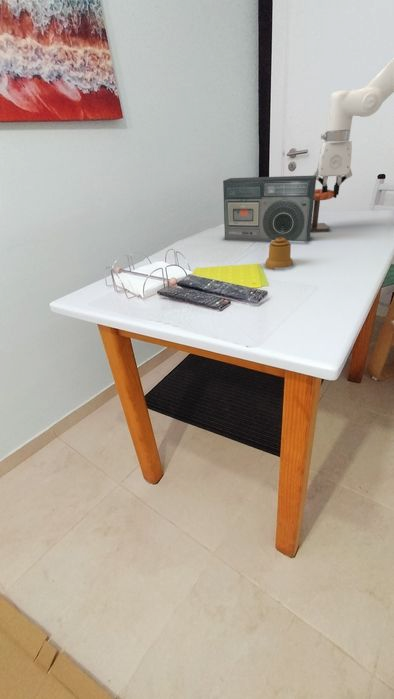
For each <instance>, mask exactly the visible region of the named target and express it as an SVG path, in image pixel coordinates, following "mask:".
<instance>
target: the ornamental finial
mask: <svg viewBox="0 0 394 699" xmlns="http://www.w3.org/2000/svg"><path fill="white" fill-rule="evenodd" d="M291 250H292V243H290V241H287V240H286V239H285V238H276V239H275V240H271V242H269V248H268V257H267V258H266V260H265V266H266V268H267V269H269V270H276V269H279V268H281V269H282V268H287V267H291V266H292V265H293V264H294V262H293V258H292V257H291ZM275 268H276V269H275Z"/></svg>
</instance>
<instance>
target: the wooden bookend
mask: <svg viewBox="0 0 394 699" xmlns="http://www.w3.org/2000/svg"><path fill="white" fill-rule="evenodd" d="M320 205H321V200H318V201H314V204H313V214H312V224H311V233H324V232H325V233H326V232H330V228H329V227H328V225H327V223H325V222H319V214H320Z"/></svg>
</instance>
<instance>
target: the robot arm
mask: <svg viewBox="0 0 394 699" xmlns="http://www.w3.org/2000/svg"><path fill="white" fill-rule="evenodd" d="M393 94H394V56H393V57H392V59H391V60H390V61H389V62H388V63H387V64H386V66H384V67H383V68H382V70H381V71H379V72H378V73H377V74H376V75H375V76H374V77H373V78H372V79H371V81H369V83H368V84H366V85H365V87H362V88H357V89H342V90H337V91H333V92H332V93H331V94H330V96H329V103H328V104H329V105H328V111H327V119H326V120H327V121H326V127H325V128H326V130H325V133H323V134H321V135H320V140H324V142H323V143H322V145H321V149H320V152H319V158H318V163H317V168H316V170H315V171H314V173H313V175H312V176H315V175H317V176H316V181H318V182H319V183H320V184H321V186H322V187H321V189H322V193H325V192H327V189H328V188H329V187H328V178H329V177H335V183H334V185H333V190H332V191H333V192H334V193H335V195H334V197H333V198H334V199H336V198H337V196H339V192H340V188H341V187H340V186H341V185H342V184H343V183H344V182H345V181H346V180H347V179H350V178H351V177H352V176H353V171H352V170H351V164H352V150H353V147H352V146H353V144H352V142H353V141H352V140H350V137H351V129H352V124H353V123H352V122H353V117H359V118H360V117H362V118H366V117H370V116H373V115H374V114H375V113H377V112H378V111H379V110H380V108H381V106H382V104H383V103H384V102H385V101H386V100H387V99H388V98H389V97H390V96H391V95H393Z"/></svg>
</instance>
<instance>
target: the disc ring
mask: <svg viewBox="0 0 394 699" xmlns="http://www.w3.org/2000/svg"><path fill="white" fill-rule="evenodd" d="M334 195H335V193H334V192H333V190H332V189H328V188H327V192H325V193H322V188H317V189H316V188H315V195H314V201H318V200H320V201H327V200H331V199H333V198H334Z"/></svg>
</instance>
